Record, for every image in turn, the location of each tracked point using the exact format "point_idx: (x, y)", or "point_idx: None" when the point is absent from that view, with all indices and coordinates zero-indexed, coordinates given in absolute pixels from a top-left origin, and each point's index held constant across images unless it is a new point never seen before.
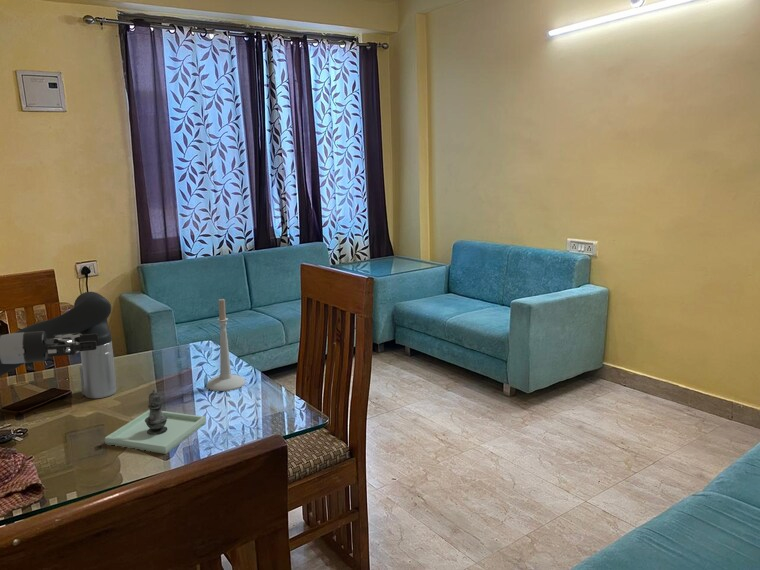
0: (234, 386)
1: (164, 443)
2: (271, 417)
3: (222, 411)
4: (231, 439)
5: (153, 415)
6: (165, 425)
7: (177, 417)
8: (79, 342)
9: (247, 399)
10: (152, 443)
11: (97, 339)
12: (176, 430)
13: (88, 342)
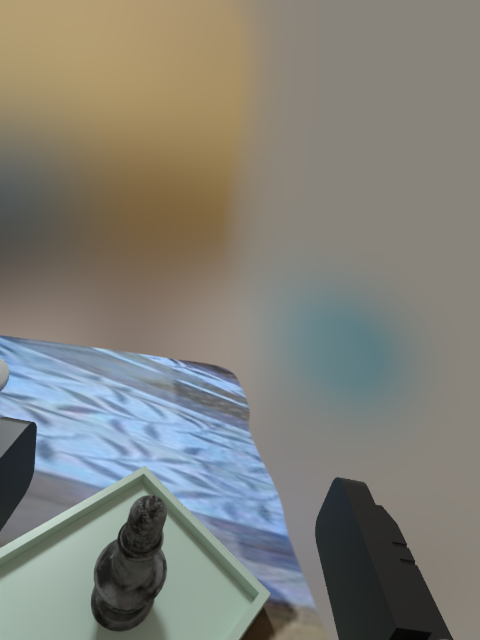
0: (5, 373)
1: (220, 594)
2: (187, 398)
3: (103, 435)
4: (243, 469)
5: (151, 566)
6: None
7: (77, 519)
8: (424, 629)
9: (81, 387)
10: (237, 626)
11: (31, 464)
12: None
13: (382, 533)
